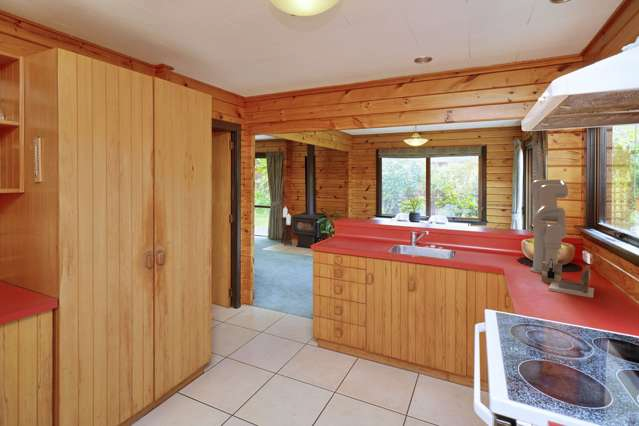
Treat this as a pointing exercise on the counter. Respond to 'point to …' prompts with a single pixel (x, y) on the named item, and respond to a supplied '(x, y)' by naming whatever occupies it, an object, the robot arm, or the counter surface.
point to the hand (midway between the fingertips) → (551, 276)
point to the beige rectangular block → (556, 276)
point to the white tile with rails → (570, 288)
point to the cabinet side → (585, 279)
